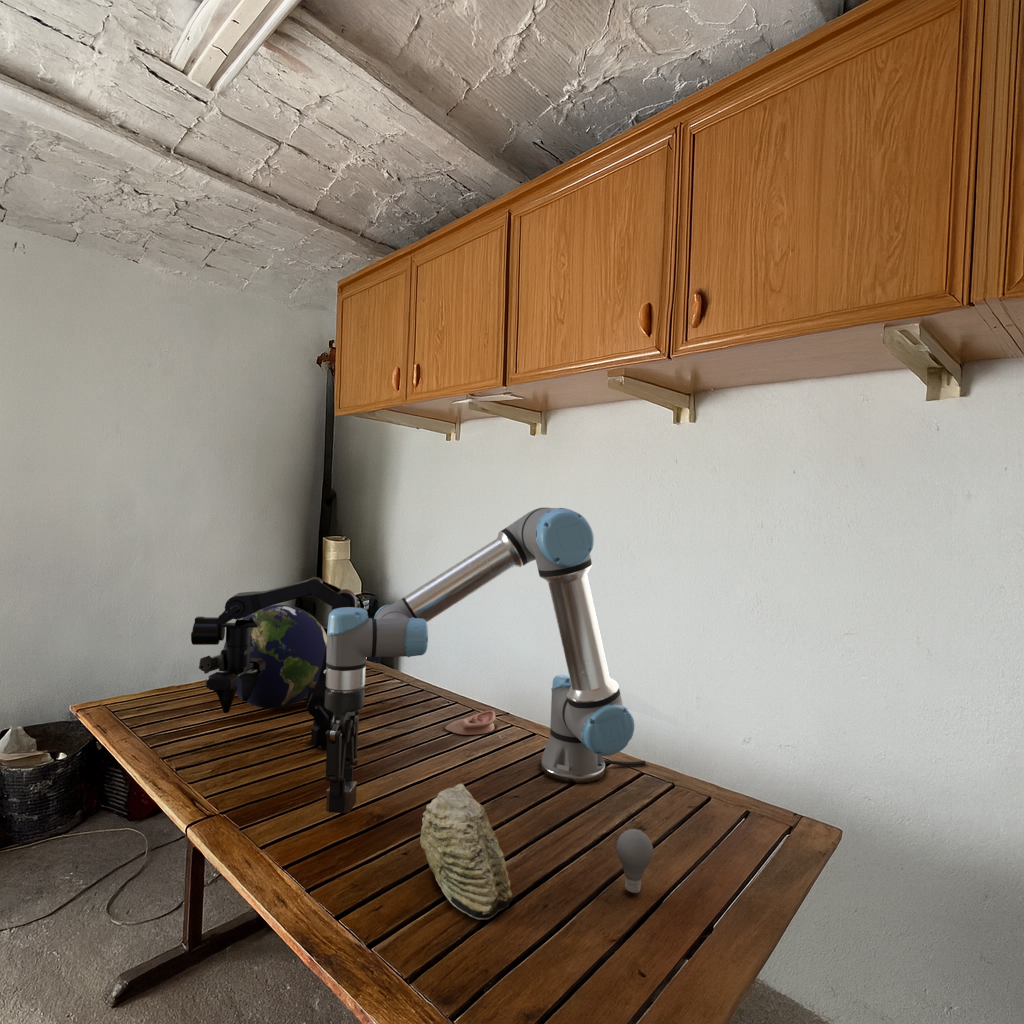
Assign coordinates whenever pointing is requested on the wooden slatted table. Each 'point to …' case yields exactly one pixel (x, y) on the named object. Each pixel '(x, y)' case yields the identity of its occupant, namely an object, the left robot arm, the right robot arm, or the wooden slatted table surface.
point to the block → (346, 796)
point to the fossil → (465, 854)
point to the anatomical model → (473, 724)
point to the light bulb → (634, 857)
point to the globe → (285, 655)
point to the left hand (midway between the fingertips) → (235, 706)
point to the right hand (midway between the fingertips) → (340, 805)
